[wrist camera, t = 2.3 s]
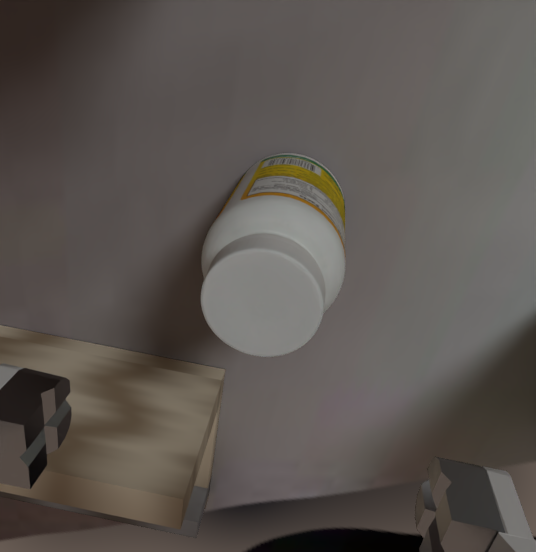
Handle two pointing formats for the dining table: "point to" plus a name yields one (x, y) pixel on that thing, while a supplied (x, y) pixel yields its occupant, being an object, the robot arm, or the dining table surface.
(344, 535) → the dining table surface
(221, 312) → the supplement bottle
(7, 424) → the robot arm
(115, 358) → the cleat board
